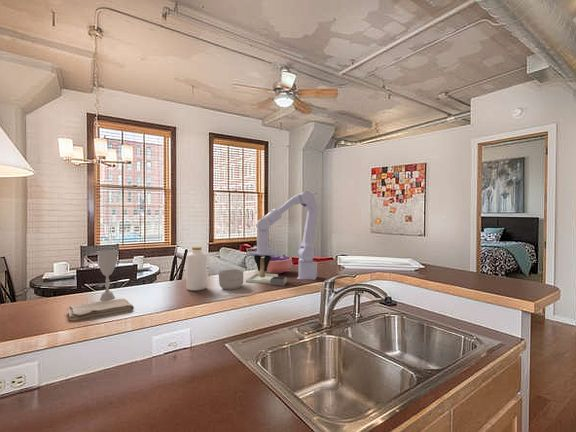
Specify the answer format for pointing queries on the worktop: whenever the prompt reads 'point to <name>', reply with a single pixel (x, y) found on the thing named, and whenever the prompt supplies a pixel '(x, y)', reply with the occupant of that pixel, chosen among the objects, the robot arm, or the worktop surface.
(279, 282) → the grey square box
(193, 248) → the potion bottle
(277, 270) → the cell model
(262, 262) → the dowel
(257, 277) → the tray
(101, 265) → the chalice
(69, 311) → the washcloth
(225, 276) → the teacup
